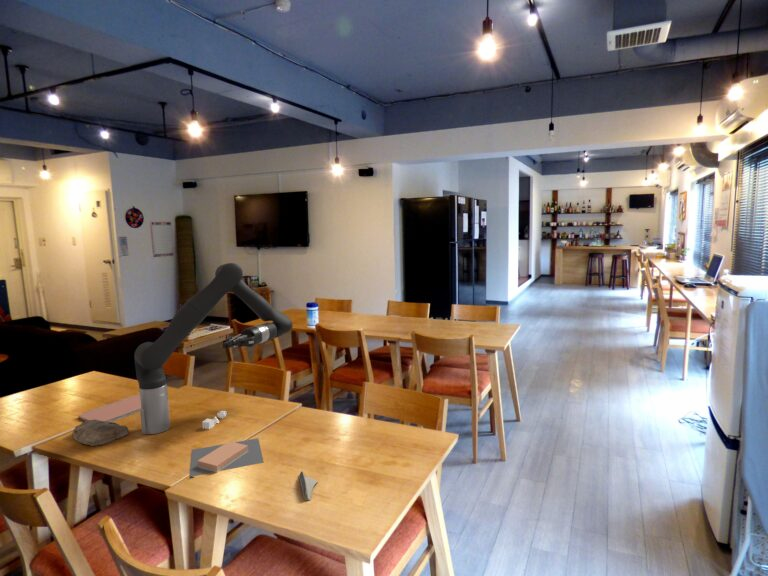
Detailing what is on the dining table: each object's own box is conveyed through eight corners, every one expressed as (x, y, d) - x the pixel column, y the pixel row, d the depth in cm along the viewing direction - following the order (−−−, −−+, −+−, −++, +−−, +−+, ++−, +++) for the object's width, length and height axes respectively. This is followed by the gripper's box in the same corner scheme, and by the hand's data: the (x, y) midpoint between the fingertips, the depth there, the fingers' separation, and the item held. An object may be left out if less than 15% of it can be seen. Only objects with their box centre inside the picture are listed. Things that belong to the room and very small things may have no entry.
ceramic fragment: (298, 476, 139) (298, 464, 139) (315, 473, 141) (315, 462, 140) (303, 504, 126) (302, 491, 125) (321, 500, 127) (321, 488, 127)
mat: (189, 478, 138) (189, 476, 138) (191, 451, 155) (191, 449, 155) (263, 464, 146) (263, 462, 146) (258, 439, 163) (258, 438, 163)
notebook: (141, 396, 207) (141, 392, 207) (163, 403, 199) (163, 399, 198) (76, 418, 184) (75, 414, 184) (98, 428, 176) (97, 423, 175)
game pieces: (209, 430, 172) (209, 422, 171) (202, 429, 172) (201, 421, 172) (228, 417, 183) (227, 409, 183) (221, 416, 184) (220, 408, 183)
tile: (248, 451, 153) (217, 472, 140) (229, 447, 156) (197, 467, 144) (247, 445, 153) (216, 465, 140) (229, 441, 156) (197, 460, 143)
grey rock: (63, 437, 168) (90, 450, 157) (62, 424, 167) (89, 436, 157) (104, 424, 180) (131, 435, 169) (103, 412, 179) (130, 422, 168)
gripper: (242, 325, 186) (209, 334, 170) (268, 327, 180) (237, 337, 165) (243, 342, 187) (211, 354, 171) (269, 345, 181) (238, 357, 166)
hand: (224, 346), depth 168 cm, fingers closed
